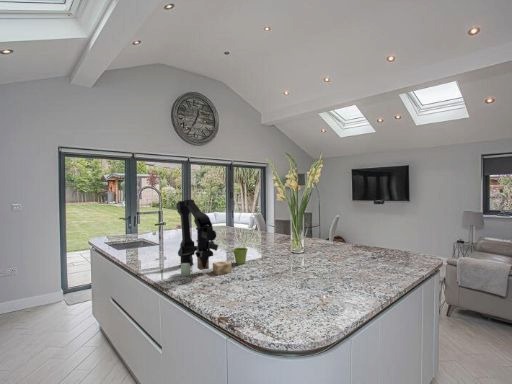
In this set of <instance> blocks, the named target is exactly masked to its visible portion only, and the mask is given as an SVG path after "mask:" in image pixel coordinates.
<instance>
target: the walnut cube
mask: <svg viewBox="0 0 512 384" xmlns="http://www.w3.org/2000/svg"><path fill="white" fill-rule="evenodd" d="M196 258H197V260H196V261H197V262H196V263H197V264H196V265H197V269H198V270H199V271H204V270H209V269H210V263H209V262H210V260H209V258H210V257H209V258H208V260H207V264H206V267H205V268H204V267H203V265H202V262H201V259H200V257H197V256H196Z"/></svg>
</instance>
